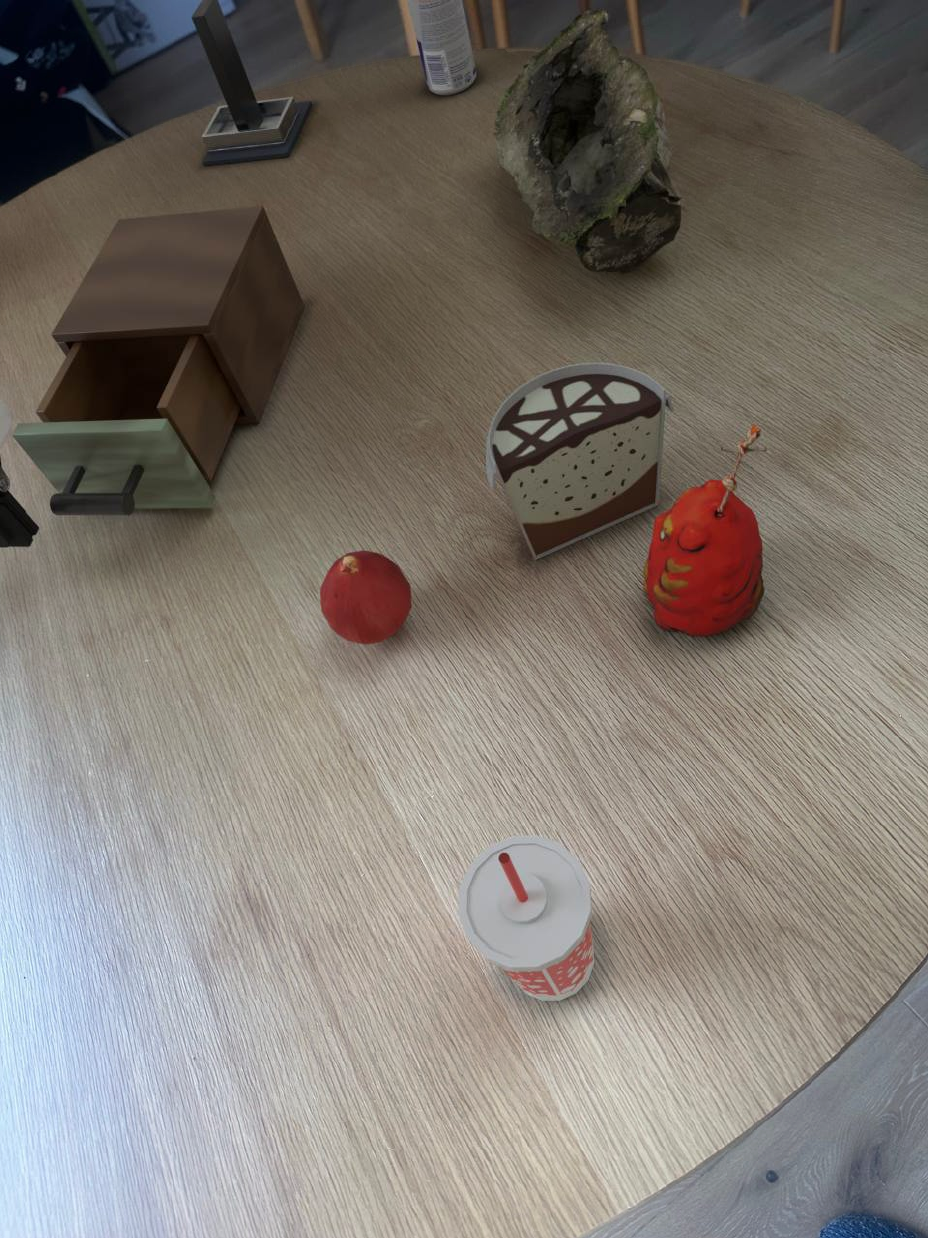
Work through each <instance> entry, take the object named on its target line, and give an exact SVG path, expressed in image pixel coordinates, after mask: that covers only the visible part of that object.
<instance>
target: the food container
mask: <svg viewBox="0 0 928 1238" xmlns="http://www.w3.org/2000/svg"><path fill="white" fill-rule="evenodd" d="M666 408H667V409H668V410H669V411H671V413H674V412H675V408H674V403H673V401H672V399H671V396H670V395H669V393H667V391H666V389H665V387H664V386H662V385H661V384H660V383H659V382H658V381H657V380H656V379H654V378H653V377H651V376H649V375H648V374H646V373H644V372H642V371H640V370H638V369H635V368H632V367H629V366H626V365H621V364H616V363H610V362H582V363H576V364H575V363H574V364H569V365H565V366H561V367H557V368H554V369H551V370H549V371H547V372H544V373H541V374H539V375H538V376H536V377H533V378H532V379H530V380H528V381H527V382H525V383H523V384H522V385H521V386H519V387H517V388H516V390H514V391H513V392H512V393H511V394H509V396H508V397H507V398H506V399H505V400H504V401H503V402H502V403H501V404H500V406H499V408H498V409H497V411H496V413H494V416H493V418H492V421H491V423H490V427H489V430H488V432H487V438H486V441H485V471H486V476H487V481H488V484H489V486H490V488H491V490H492V492H494V491H496V476H497V478H498V480H499V483H500V484H501V485H500V486H501V487H502V490H503V491H504V494H505V497H506V499H507V501H508V504H509V506H510V507H511V511H512V512H513V515H514V517H515V520H516V522H517V524H518V527H519V529H520V531H521V533H522V536H523V538H524V541H525V543H526V545H527V548H528V550H529V552H530V554H531V556H532V559H533V561H537V560H538V559H539V560H540V559H542V558H543V557H546V556H548V555H550V554H552V553H555V552H557V551H560V550H562V549H563V548H566V547H569V546H570V545H572V544H575V543H578V542H580V541H581V540H584V539H586V538H588V537H590V536H593V535H595V534H598V533H599V532H602V531H604V530H606V529H608V528H611V527H613V526H615V525H617V524H620V523H621V522H624V521H626V520H629V519H631V518H633V517H635V516H637V515H639V514H642V513H644V512H647V511H649V510H651V509H653V508H656V507H657V506H659V505H660V494H661V479H662V464H663V448H664V433H665V421H666V419H665V418H666Z"/></svg>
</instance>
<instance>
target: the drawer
mask: <svg viewBox="0 0 928 1238" xmlns="http://www.w3.org/2000/svg"><path fill="white" fill-rule="evenodd" d="M42 397H43V398H42V399H41V401H40V403H39V404H38V406H37V408H36V409H35V414H36V415H37V416H38V417H39V419H40V421H41V422H21V423H17V425H16V426H15V427H14V430H13V432H12V434H11V436H12V437H13V438H14V440H15V441H16V442H17V444H18V446H20V447H21V448H22V450H23V451H24V453H26V455H27V456H28V457H29V459H30V460H31V461H32V462H33V463H34V465H35V466H36V467H37V468H38V470H39V471H40V473H42V474H43V476H44V477H45V478H46V479H47V480H48V482H49V483H50V485H51V486H52V487H53V489H55V491H56V493H53V495H51V497H50V499H49V508H50V511H51V512H52V514H53V515H55V516H131V515H132V514H134V512H135V510H136V509H212V506H213V504H214V501H215V499H216V495H215V493H214V492H213V490H212V488H211V486H209V484H208V482H211V481H212V479H213V477H214V476H215V475H214V474H215V472H216V470H217V467H218V465H219V462H220V459H221V458H222V456H223V452H224V450H225V447H226V445H227V443H228V440H229V438H230V435H231V433H232V430H233V429H234V426H235V424H234V423H235V421H236V419H237V416H238V414H239V411H240V409H241V405H240V403H239V401H238V399H237V398H236V396H235V394H234V392H233V390H232V388H231V386H230V384H229V383H228V381H227V379H226V377H225V375H224V373H223V371H222V369H221V368H220V366H219V364H218V362H217V360H216V358H215V356H214V354H213V352H212V351H211V349H210V347H209V345H208V343H207V341H206V339H205V337H204V336H203V334H192V335H175V336H157V337H140V338H123V339H105V340H88V341H75V342H74V344H73V346H72V348H71V349H70V351H69V353H68V355H67V356H65V358H64V360H63V362H62V363H61V365H60V367H59V369H58V371H57V372H56V375H55V376H54V378H53V380H52V381H51V383H50V385H49V386H48V389H47V390H46V391H45V394H44V396H42Z"/></svg>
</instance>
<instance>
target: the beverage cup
mask: <svg viewBox="0 0 928 1238" xmlns="http://www.w3.org/2000/svg"><path fill="white" fill-rule="evenodd" d="M591 887H592V886H591V883H590V881H589V879H588V877H587V874H586V872H585V870H584V868H583V866H582V864H581V861H580V860H579V858H577V857H576V856H575V855H574V854H572V852H570V851H569V850H568V849H567V848H566V847H565V846H564V845H562V844H561V843H560V842H556V841H554V840H551V839H548V838H546V837H543V836H540V835H536V834H533V835H531V834H530V835H511V836H509V837H506V838H504V839H502V840H499V841H498V842H495V843H493V844H491V845H488V846H487V847H486V848H485V849H483V851H482V852H481V853H480V854H479V855H477V856H476V857H475V859H474V860H473V861H471V862H470V863H469V865H468V867H467V870H466V871H465V874H464V876H463V878H462V881H461V882H460V885H459V887H458V902H457V903H458V905H457V907H458V908H457V916H458V918H459V921H460V924H461V926H462V929H463V932H464V935H465V937H466V939H467V941H468V942H469V943H470V944H471V945H472V947H474V948H475V949H476V950H477V951H478V953H480V954H481V955H482V957H484V958H485V959H486V961H487V962H489V963H491V964H493V965H496V966H498V967H500V968H501V969H502V970H503V971H504V972H505V973H506V974H507V975H508V977H509V978H510V979H511V980H512V981H513V982H514V983H515V984H516V985H517V986H518V987H519V988H520V989H521V991H523V993H525V995H526V996H530V997H532V998H534V999H537V1000H539V1001H542V1002H561V1001H563V1000H565V999H567V998H570V997H571V996H574V995H576V994H578V992H579V991H580V990H581V989H582V988H583V987H584V986H585V985H586V984H587V983H588V982H589V979H590V977H591V974H592V972H593V969H594V966H595V947H594V946H595V945H594V938H593V932H592V924H591V920H592V917H593V904H592V903H593V902H592V889H591Z"/></svg>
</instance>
